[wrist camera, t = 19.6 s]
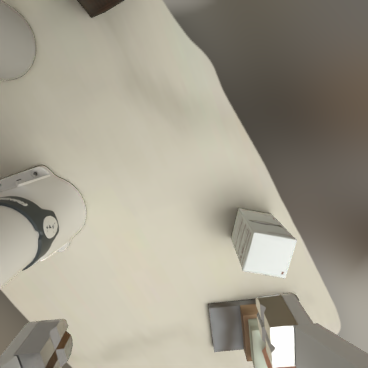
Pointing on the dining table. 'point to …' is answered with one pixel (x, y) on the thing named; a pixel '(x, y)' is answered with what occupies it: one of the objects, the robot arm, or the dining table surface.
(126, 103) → the dining table surface
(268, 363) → the block
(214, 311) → the build plinth
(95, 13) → the manual coffee grinder
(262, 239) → the supplement box
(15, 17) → the cylinder vase
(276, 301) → the robot arm
